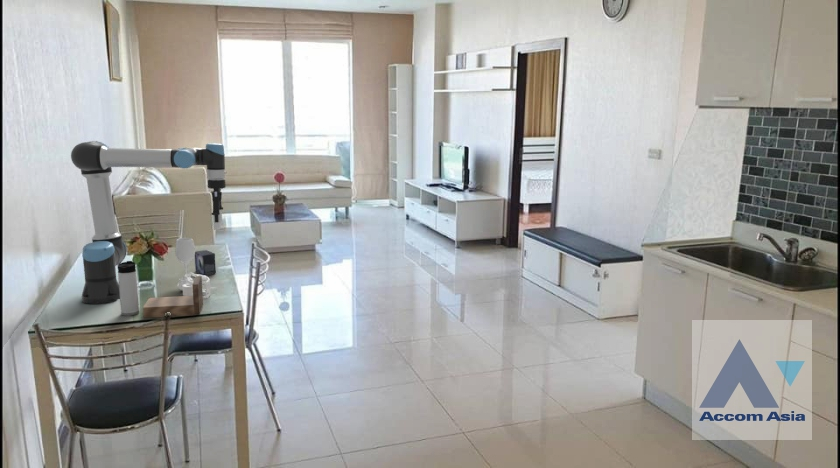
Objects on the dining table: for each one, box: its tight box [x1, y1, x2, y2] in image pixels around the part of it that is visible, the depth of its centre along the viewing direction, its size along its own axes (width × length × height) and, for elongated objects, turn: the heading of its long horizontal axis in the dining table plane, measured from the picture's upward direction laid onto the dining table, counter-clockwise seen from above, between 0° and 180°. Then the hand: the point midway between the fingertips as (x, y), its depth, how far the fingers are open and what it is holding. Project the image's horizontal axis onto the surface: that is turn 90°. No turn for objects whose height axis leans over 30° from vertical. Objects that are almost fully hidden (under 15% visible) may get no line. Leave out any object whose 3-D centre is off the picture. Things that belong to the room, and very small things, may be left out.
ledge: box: [142, 276, 204, 318], centre depth 243 cm, size 20×13×12 cm, turn 103°
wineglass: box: [174, 237, 196, 288], centre depth 279 cm, size 9×9×21 cm
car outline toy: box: [178, 271, 211, 299], centre depth 267 cm, size 20×11×7 cm, turn 29°
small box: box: [194, 249, 217, 276], centre depth 301 cm, size 11×6×10 cm, turn 42°
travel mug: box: [117, 260, 140, 317], centre depth 238 cm, size 6×7×20 cm
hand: (218, 226), depth 277 cm, fingers open, 13 cm apart
